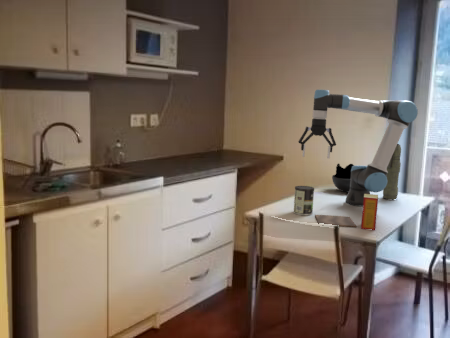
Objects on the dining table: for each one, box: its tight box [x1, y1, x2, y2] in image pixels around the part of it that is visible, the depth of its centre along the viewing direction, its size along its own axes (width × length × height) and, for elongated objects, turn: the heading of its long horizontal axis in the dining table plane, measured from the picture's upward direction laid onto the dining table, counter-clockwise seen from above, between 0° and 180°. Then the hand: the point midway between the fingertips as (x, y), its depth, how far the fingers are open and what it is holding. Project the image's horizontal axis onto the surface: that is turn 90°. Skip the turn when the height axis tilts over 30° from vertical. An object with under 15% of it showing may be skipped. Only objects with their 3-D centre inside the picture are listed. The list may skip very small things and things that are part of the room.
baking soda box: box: [360, 193, 379, 231], centre depth 235 cm, size 10×6×16 cm
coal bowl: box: [331, 163, 355, 193], centre depth 322 cm, size 20×20×19 cm
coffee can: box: [293, 185, 315, 216], centre depth 258 cm, size 10×10×14 cm
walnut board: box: [314, 214, 358, 228], centre depth 244 cm, size 18×18×1 cm
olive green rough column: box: [382, 143, 402, 200], centre depth 305 cm, size 9×12×35 cm
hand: (315, 157), depth 264 cm, fingers open, 13 cm apart
